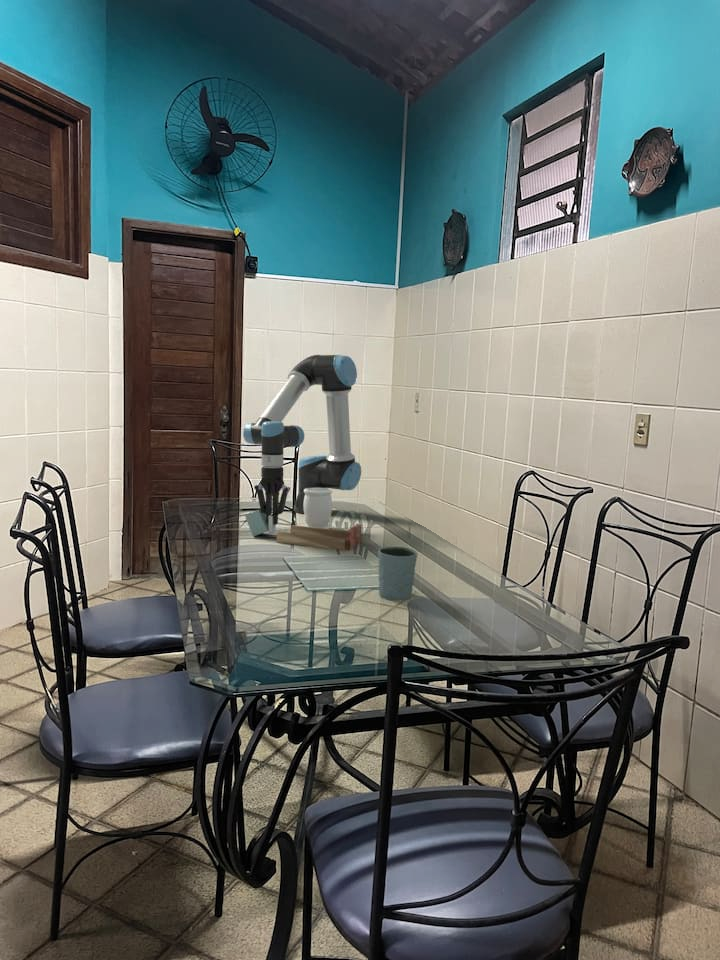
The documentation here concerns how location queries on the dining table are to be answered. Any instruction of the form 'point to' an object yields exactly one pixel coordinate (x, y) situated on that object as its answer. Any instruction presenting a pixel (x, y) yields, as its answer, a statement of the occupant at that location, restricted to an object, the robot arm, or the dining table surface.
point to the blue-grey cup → (396, 572)
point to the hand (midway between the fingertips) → (272, 533)
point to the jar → (317, 507)
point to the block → (257, 522)
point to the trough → (321, 537)
